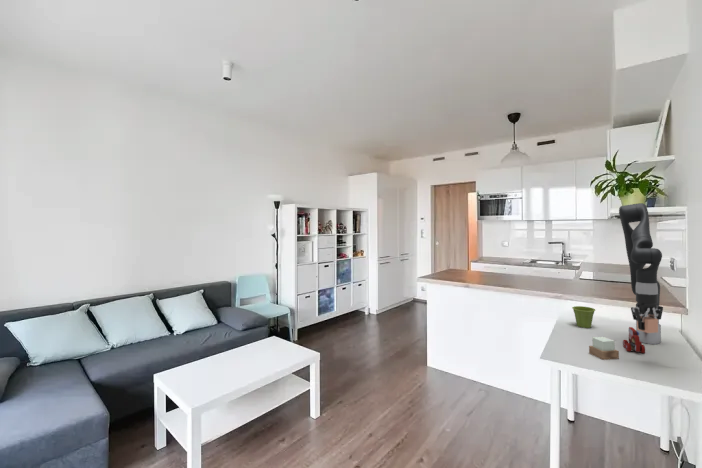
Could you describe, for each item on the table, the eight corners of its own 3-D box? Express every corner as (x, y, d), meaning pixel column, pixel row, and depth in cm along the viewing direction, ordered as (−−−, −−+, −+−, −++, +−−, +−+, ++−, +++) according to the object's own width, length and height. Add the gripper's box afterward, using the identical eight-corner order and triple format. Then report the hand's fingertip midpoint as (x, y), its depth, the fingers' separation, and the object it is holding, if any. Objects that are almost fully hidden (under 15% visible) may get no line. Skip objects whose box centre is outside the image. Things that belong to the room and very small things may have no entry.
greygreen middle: (604, 345, 162) (603, 336, 162) (614, 350, 156) (614, 341, 156) (592, 346, 161) (592, 337, 161) (602, 351, 155) (602, 341, 155)
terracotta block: (647, 328, 152) (646, 316, 152) (658, 332, 147) (657, 319, 147) (637, 329, 152) (636, 316, 152) (647, 333, 147) (647, 319, 147)
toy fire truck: (628, 353, 161) (628, 332, 161) (621, 345, 172) (621, 325, 172) (647, 355, 158) (646, 334, 157) (638, 347, 169) (638, 327, 168)
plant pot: (567, 324, 209) (567, 306, 209) (584, 323, 211) (584, 305, 210) (582, 330, 198) (582, 311, 197) (600, 328, 199) (600, 310, 199)
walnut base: (604, 353, 163) (604, 345, 163) (618, 359, 155) (618, 351, 155) (589, 354, 162) (589, 345, 162) (602, 360, 154) (602, 352, 154)
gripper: (652, 289, 154) (653, 325, 154) (624, 291, 152) (625, 327, 153) (669, 292, 146) (670, 330, 147) (640, 294, 145) (640, 333, 145)
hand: (647, 329), depth 150 cm, fingers closed on terracotta block, 5 cm apart
